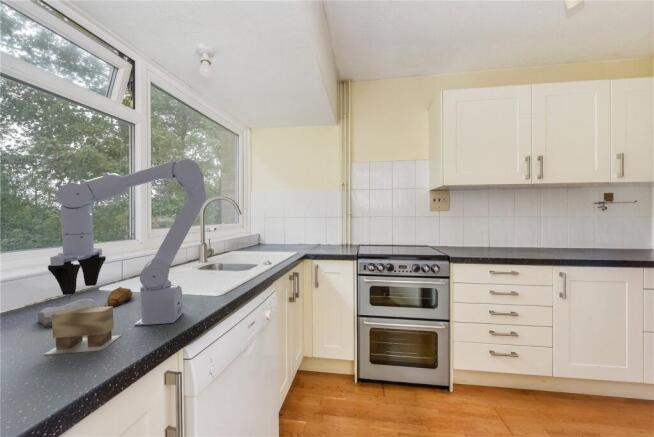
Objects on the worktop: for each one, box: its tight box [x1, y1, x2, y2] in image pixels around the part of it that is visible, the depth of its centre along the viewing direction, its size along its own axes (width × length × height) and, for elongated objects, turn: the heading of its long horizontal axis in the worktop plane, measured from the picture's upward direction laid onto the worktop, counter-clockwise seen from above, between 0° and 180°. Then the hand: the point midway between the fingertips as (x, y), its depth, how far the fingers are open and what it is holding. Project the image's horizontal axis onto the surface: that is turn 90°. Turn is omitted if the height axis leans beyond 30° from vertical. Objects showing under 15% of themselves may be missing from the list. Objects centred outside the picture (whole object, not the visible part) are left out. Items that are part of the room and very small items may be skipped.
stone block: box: [37, 298, 98, 328], centre depth 80 cm, size 12×5×10 cm
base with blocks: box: [43, 330, 122, 356], centre depth 63 cm, size 11×7×3 cm, turn 98°
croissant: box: [106, 286, 133, 308], centre depth 94 cm, size 14×7×5 cm, turn 16°
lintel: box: [51, 306, 115, 339], centre depth 63 cm, size 10×3×5 cm, turn 99°
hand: (80, 289), depth 70 cm, fingers open, 7 cm apart
